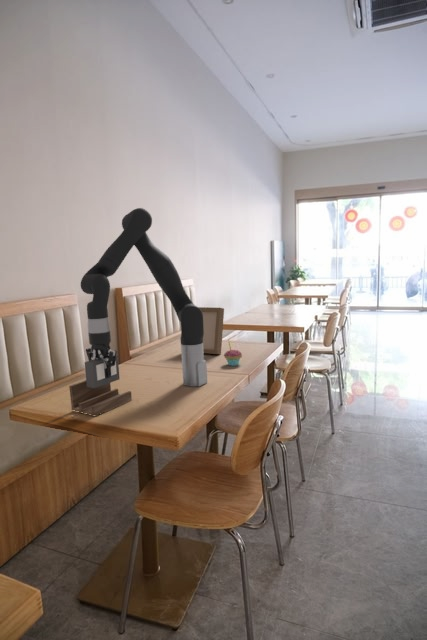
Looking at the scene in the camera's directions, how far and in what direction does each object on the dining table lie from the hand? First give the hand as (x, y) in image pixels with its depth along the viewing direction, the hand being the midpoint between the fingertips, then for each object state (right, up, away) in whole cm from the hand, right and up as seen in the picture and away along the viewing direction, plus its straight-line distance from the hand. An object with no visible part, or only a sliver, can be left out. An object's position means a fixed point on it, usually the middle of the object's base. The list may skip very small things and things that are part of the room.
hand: (103, 376), depth 152 cm
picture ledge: (-1, -11, +2) cm, 11 cm away
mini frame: (0, -2, 0) cm, 2 cm away
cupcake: (+50, -1, +51) cm, 71 cm away
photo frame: (+36, +3, +82) cm, 90 cm away
